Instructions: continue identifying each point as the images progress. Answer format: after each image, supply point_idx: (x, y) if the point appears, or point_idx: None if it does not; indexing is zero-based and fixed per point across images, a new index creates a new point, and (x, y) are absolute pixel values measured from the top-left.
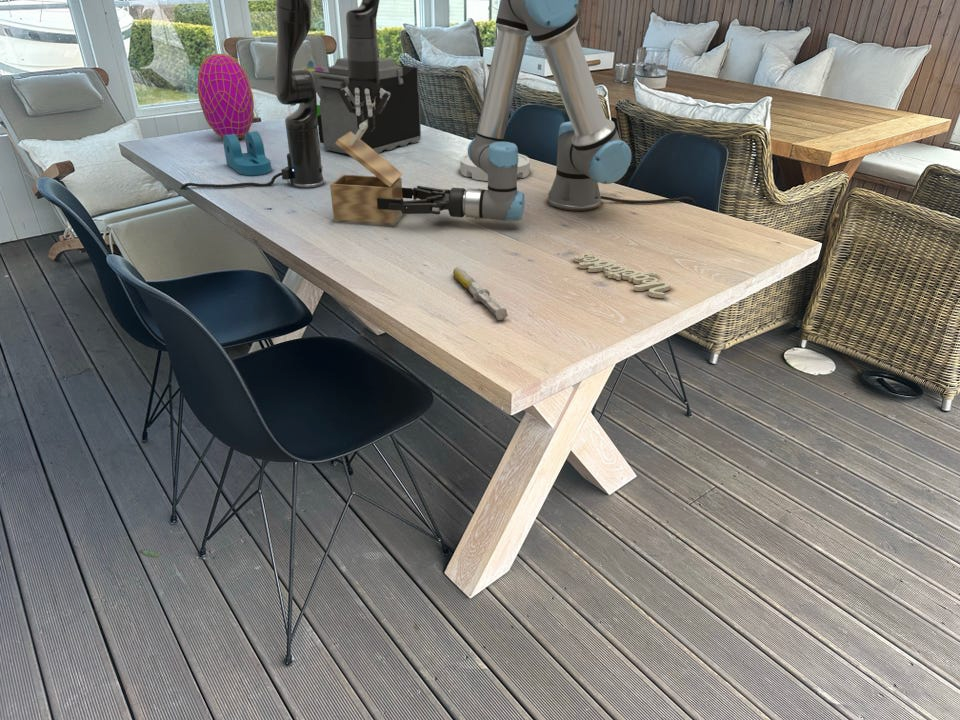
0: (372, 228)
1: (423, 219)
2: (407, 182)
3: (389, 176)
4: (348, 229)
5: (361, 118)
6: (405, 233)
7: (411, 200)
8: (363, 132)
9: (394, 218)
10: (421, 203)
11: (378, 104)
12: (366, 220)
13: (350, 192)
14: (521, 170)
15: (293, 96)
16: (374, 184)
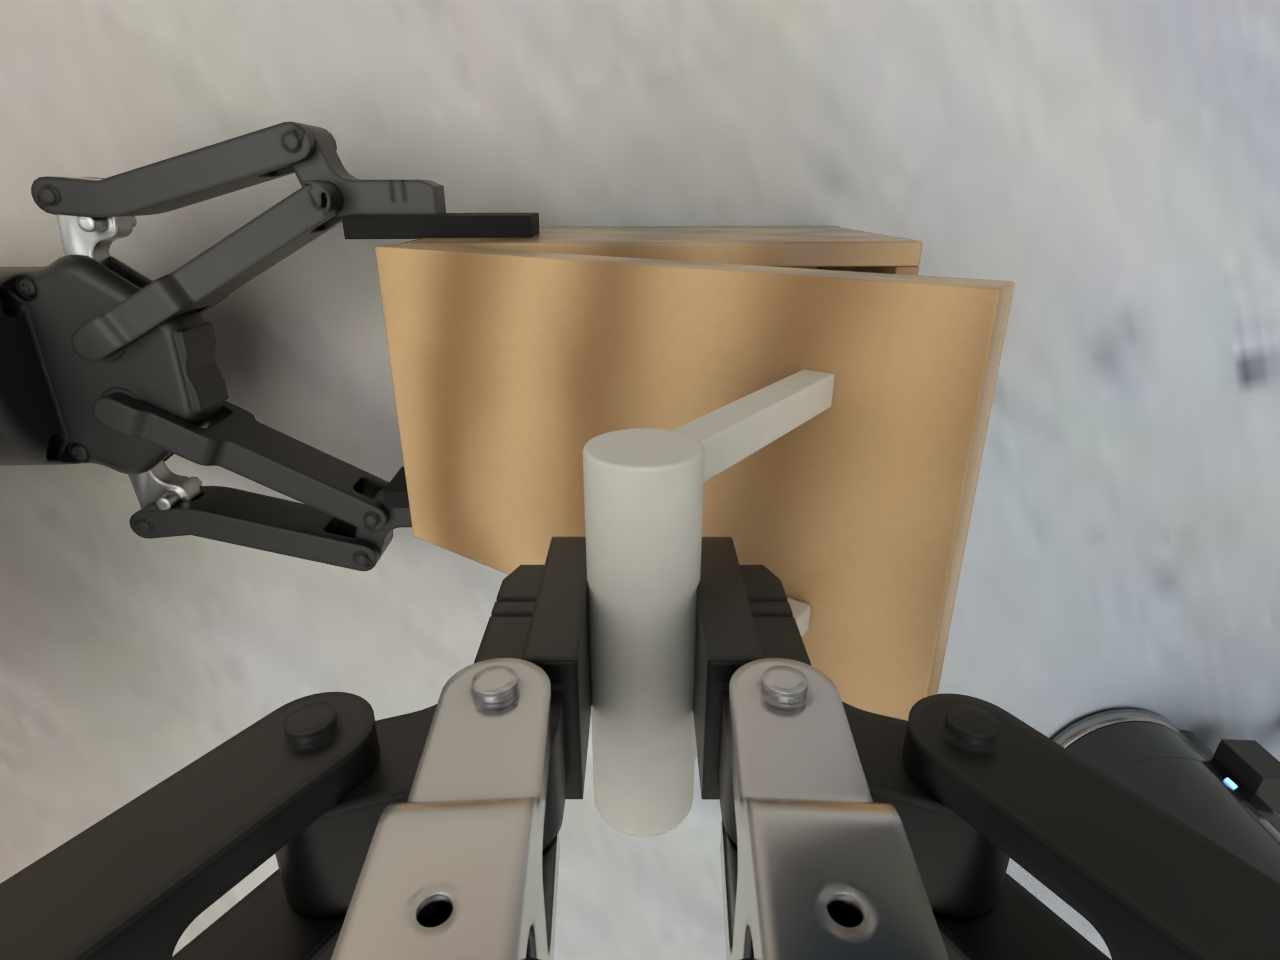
0: (574, 166)
1: (346, 385)
2: (632, 874)
3: (422, 332)
4: (711, 114)
5: (704, 636)
6: (348, 118)
7: (277, 248)
8: None
9: None
10: (172, 189)
11: (147, 902)
12: (630, 228)
13: (744, 238)
14: None
15: None
16: None
